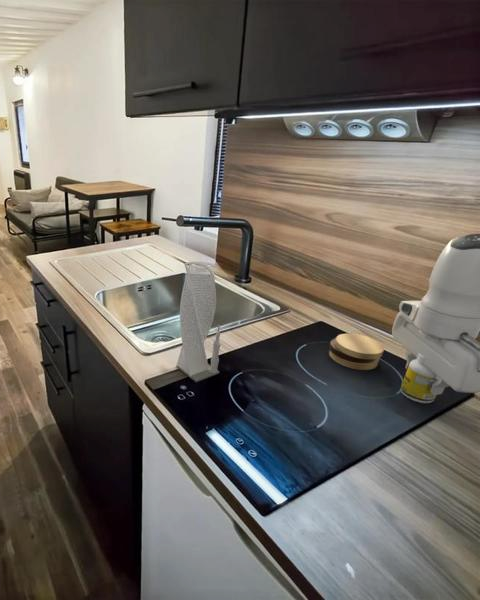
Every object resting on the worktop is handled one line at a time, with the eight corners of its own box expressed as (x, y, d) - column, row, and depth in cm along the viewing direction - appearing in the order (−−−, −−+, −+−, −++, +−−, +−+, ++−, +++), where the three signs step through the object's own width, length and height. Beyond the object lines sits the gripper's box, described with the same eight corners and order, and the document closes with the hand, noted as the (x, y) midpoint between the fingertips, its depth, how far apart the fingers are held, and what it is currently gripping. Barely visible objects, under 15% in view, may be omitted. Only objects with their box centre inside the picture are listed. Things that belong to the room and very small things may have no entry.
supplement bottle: (401, 383, 79) (416, 345, 75) (435, 394, 75) (452, 354, 71) (397, 396, 75) (412, 356, 71) (432, 408, 72) (450, 367, 68)
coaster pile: (364, 348, 91) (369, 332, 90) (387, 371, 83) (393, 354, 81) (321, 346, 93) (325, 331, 91) (339, 369, 84) (343, 352, 83)
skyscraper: (191, 384, 83) (201, 268, 71) (168, 366, 89) (174, 257, 78) (219, 373, 86) (233, 260, 74) (195, 356, 92) (205, 250, 81)
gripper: (517, 352, 58) (482, 418, 64) (429, 298, 76) (408, 354, 82) (471, 350, 59) (440, 416, 65) (395, 298, 78) (376, 352, 83)
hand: (422, 381), depth 74 cm, fingers closed on supplement bottle, 5 cm apart
